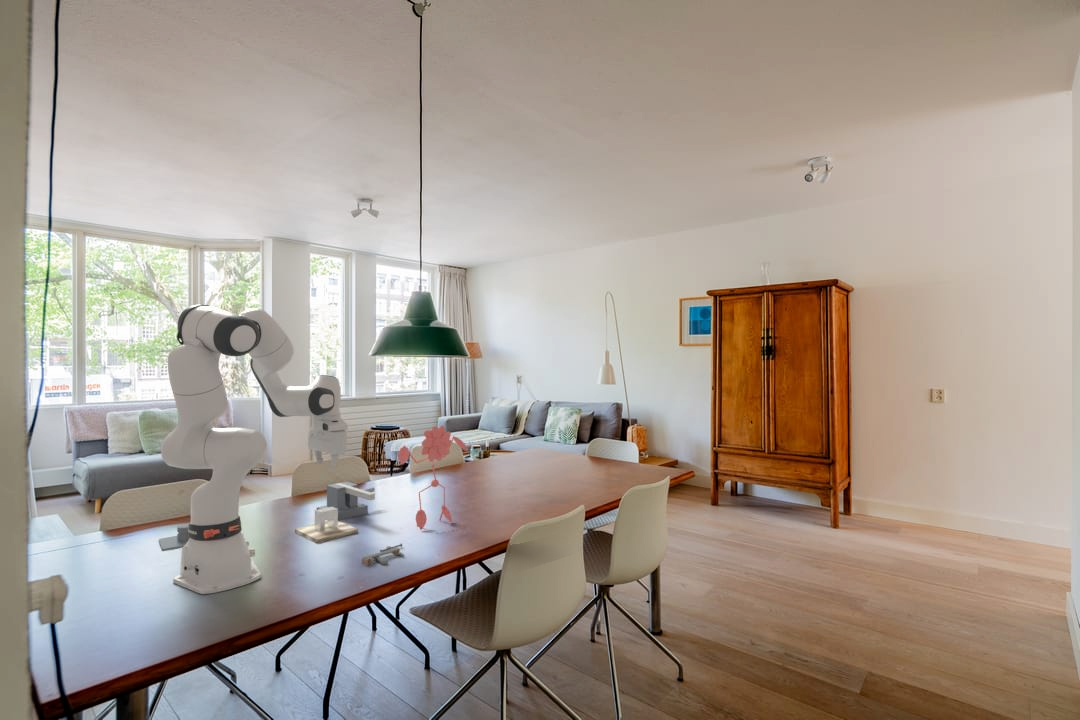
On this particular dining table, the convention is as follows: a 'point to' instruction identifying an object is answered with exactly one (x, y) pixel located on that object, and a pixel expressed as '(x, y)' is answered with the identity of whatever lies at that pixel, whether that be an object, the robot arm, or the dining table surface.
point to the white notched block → (326, 518)
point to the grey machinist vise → (348, 499)
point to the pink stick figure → (435, 448)
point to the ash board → (326, 532)
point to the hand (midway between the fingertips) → (326, 465)
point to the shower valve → (176, 539)
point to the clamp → (369, 559)
